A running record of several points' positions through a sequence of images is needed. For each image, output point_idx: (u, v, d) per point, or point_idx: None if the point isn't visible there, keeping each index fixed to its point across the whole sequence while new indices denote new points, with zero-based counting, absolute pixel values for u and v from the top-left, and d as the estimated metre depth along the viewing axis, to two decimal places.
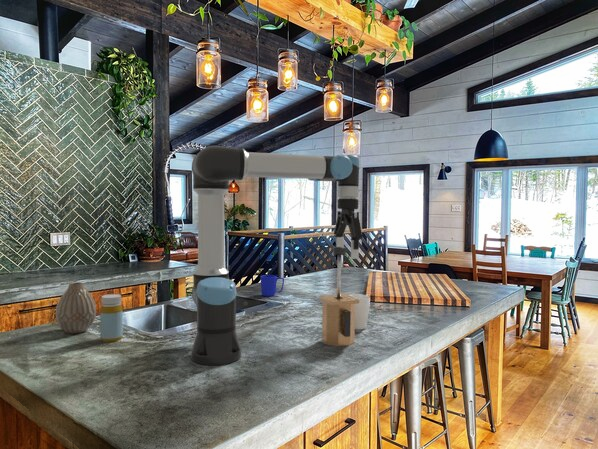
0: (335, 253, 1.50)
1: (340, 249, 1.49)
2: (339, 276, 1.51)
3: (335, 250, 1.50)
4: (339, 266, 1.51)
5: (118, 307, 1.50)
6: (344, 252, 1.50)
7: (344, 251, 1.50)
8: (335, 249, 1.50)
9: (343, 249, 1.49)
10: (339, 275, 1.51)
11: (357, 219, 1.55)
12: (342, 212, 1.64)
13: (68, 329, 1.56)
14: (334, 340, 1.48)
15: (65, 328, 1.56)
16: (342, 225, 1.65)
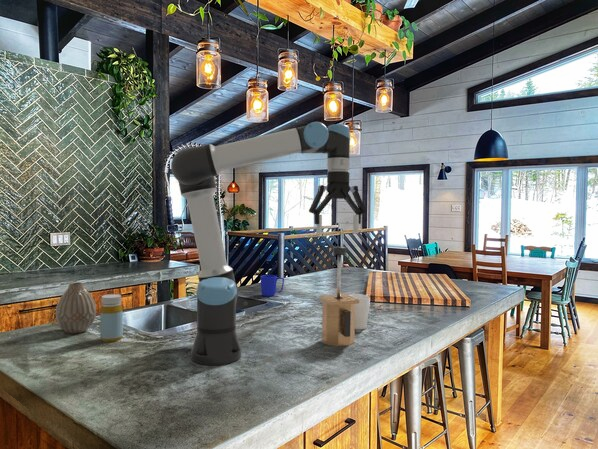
0: (335, 253, 1.50)
1: (340, 249, 1.49)
2: (339, 276, 1.51)
3: (335, 250, 1.50)
4: (339, 266, 1.51)
5: (118, 307, 1.50)
6: (344, 252, 1.50)
7: (344, 251, 1.50)
8: (335, 249, 1.50)
9: (343, 249, 1.49)
10: (339, 275, 1.51)
11: (319, 193, 1.48)
12: None
13: (68, 329, 1.56)
14: (334, 340, 1.48)
15: (65, 328, 1.56)
16: (347, 201, 1.53)
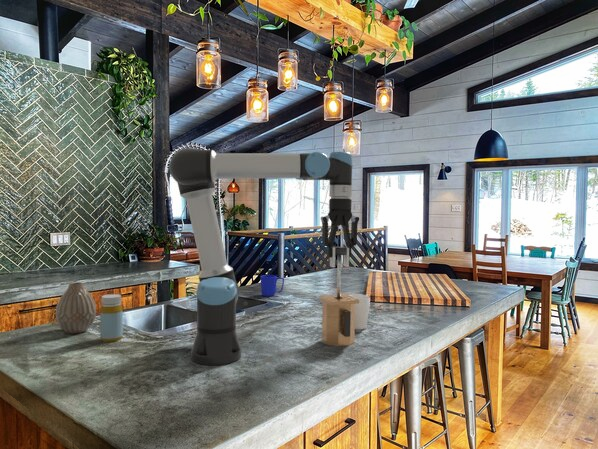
0: (335, 253, 1.50)
1: (340, 249, 1.49)
2: (339, 276, 1.51)
3: (335, 250, 1.50)
4: (339, 266, 1.51)
5: (118, 307, 1.50)
6: (344, 252, 1.50)
7: (344, 251, 1.50)
8: (335, 249, 1.50)
9: (343, 249, 1.49)
10: (339, 275, 1.51)
11: (324, 225, 1.48)
12: None
13: (68, 329, 1.56)
14: (334, 340, 1.48)
15: (65, 328, 1.56)
16: (343, 229, 1.52)
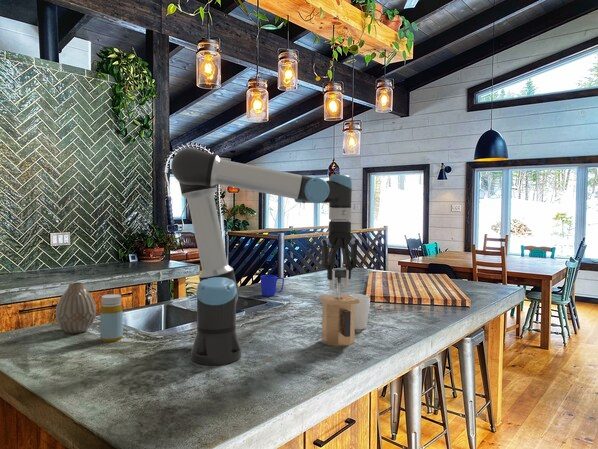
0: (335, 276, 1.50)
1: (340, 272, 1.49)
2: (339, 298, 1.52)
3: (335, 273, 1.50)
4: (339, 288, 1.51)
5: (118, 307, 1.50)
6: (344, 275, 1.50)
7: (344, 274, 1.50)
8: (335, 272, 1.50)
9: (343, 272, 1.50)
10: (339, 297, 1.51)
11: (323, 248, 1.49)
12: None
13: (68, 329, 1.56)
14: (334, 340, 1.48)
15: (65, 328, 1.56)
16: (343, 252, 1.52)
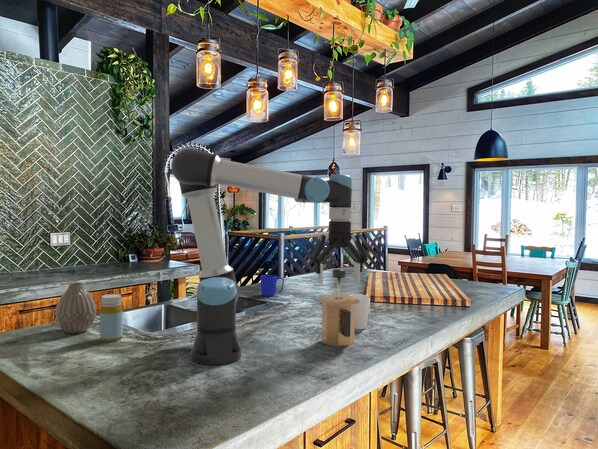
0: (335, 276, 1.50)
1: (340, 272, 1.49)
2: (339, 298, 1.52)
3: (335, 273, 1.50)
4: (339, 288, 1.51)
5: (118, 307, 1.50)
6: (344, 275, 1.50)
7: (344, 274, 1.50)
8: (335, 272, 1.50)
9: (343, 272, 1.50)
10: (339, 297, 1.51)
11: (320, 242, 1.48)
12: None
13: (68, 329, 1.56)
14: (334, 340, 1.48)
15: (65, 328, 1.56)
16: (348, 249, 1.53)
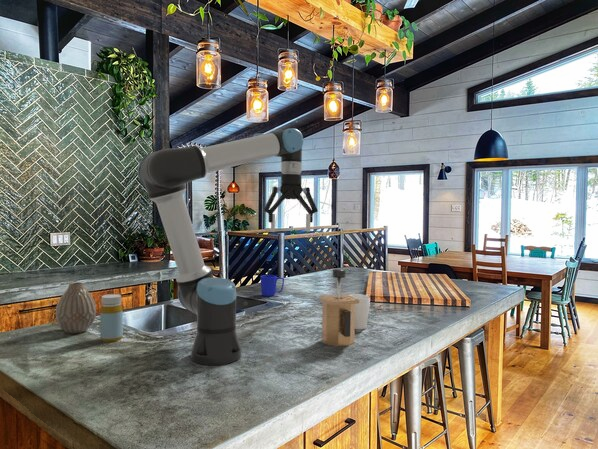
0: (335, 276, 1.50)
1: (340, 272, 1.49)
2: (339, 298, 1.52)
3: (335, 273, 1.50)
4: (339, 288, 1.51)
5: (118, 307, 1.50)
6: (344, 275, 1.50)
7: (344, 274, 1.50)
8: (335, 272, 1.50)
9: (343, 272, 1.50)
10: (339, 297, 1.51)
11: (272, 193, 1.61)
12: None
13: (68, 329, 1.56)
14: (334, 340, 1.48)
15: (65, 328, 1.56)
16: (299, 201, 1.65)
